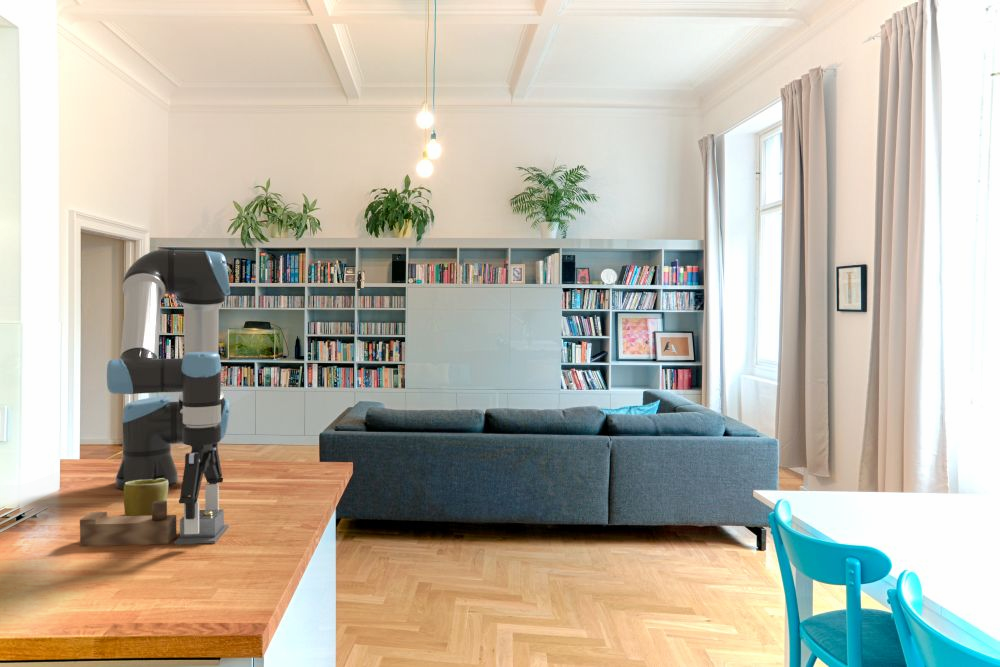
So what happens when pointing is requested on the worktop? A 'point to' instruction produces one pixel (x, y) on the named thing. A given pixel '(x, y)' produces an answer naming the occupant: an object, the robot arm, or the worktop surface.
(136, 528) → the plane body
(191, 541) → the mat
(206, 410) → the robot arm
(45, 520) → the worktop surface
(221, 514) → the lever cap
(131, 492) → the mug
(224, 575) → the worktop surface
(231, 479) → the worktop surface
